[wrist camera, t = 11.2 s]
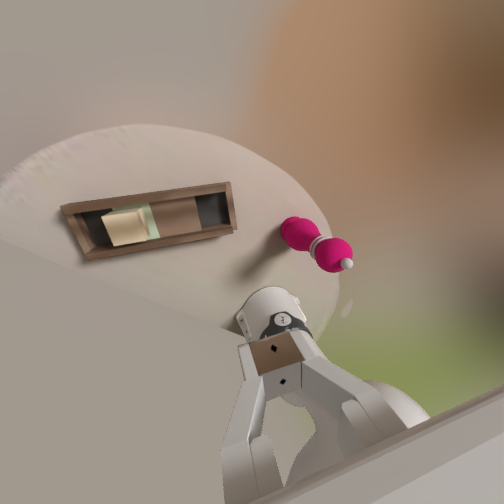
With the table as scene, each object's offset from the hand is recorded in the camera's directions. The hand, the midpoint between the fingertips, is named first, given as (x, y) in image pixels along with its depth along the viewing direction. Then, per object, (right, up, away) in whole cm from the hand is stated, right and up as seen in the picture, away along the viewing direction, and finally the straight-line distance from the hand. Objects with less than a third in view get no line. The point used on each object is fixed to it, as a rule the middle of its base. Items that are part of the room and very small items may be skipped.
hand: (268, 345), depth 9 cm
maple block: (-23, +10, +26) cm, 36 cm away
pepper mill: (+9, +10, +38) cm, 40 cm away
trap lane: (-19, +12, +29) cm, 36 cm away
